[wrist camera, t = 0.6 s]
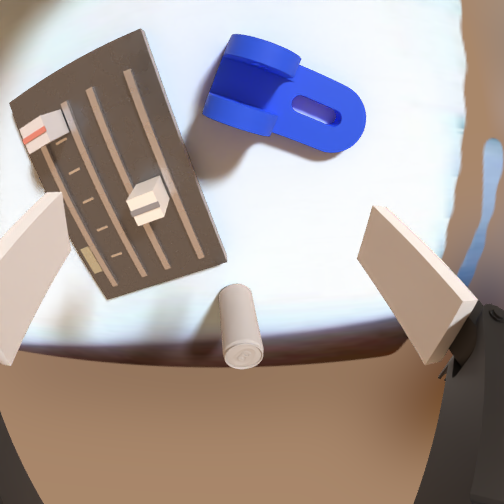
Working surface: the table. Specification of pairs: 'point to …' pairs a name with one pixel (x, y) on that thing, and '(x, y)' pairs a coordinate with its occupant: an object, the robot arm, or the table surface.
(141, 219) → the fader
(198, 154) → the table surface
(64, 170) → the console
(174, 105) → the table surface
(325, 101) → the bracket
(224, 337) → the beverage can
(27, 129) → the fader
